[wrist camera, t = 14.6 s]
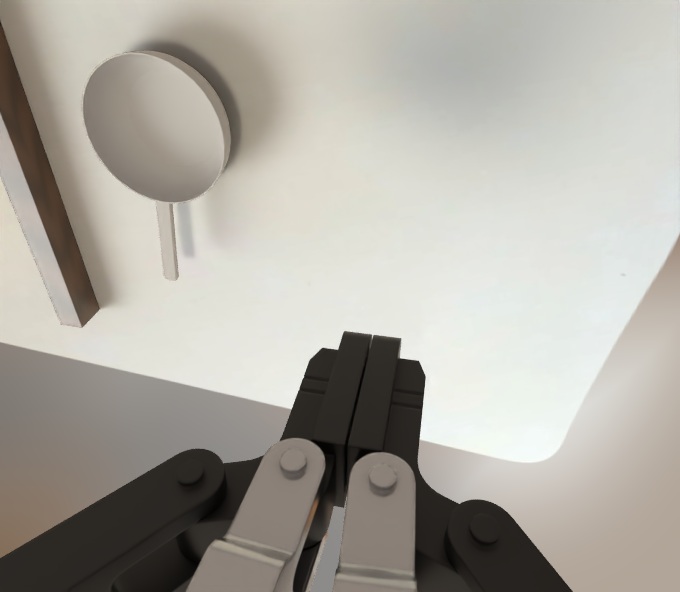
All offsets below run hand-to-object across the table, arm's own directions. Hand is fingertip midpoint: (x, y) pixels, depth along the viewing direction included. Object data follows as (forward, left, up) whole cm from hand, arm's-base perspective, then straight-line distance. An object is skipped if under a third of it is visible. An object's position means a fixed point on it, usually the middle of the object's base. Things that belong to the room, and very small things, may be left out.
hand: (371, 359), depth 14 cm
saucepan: (+6, -20, -27) cm, 34 cm away
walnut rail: (+8, -33, -27) cm, 43 cm away
